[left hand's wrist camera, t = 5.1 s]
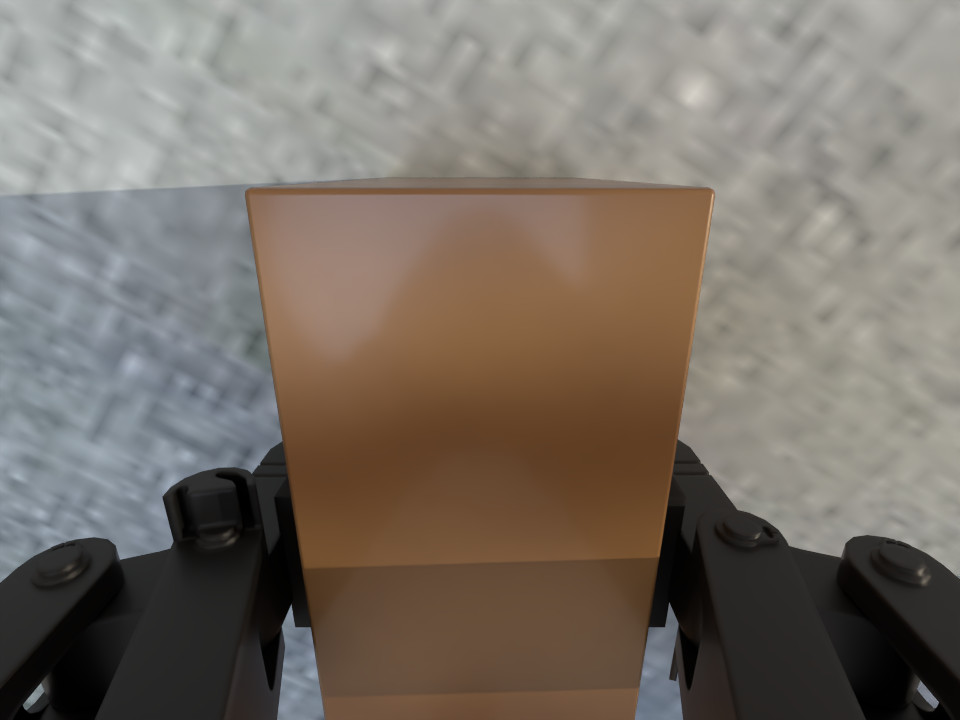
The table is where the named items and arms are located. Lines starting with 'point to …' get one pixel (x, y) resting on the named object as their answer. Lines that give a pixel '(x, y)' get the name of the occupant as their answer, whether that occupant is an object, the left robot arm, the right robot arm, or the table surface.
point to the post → (479, 431)
